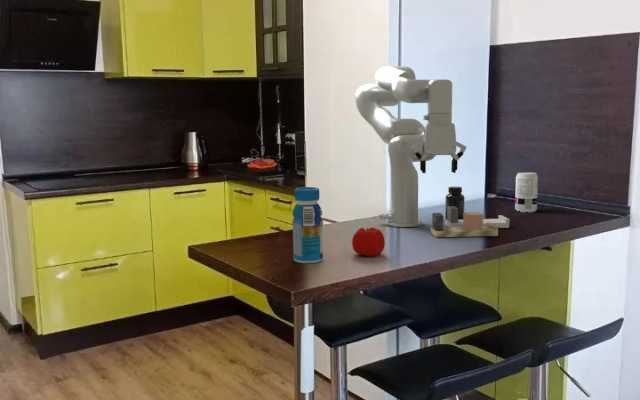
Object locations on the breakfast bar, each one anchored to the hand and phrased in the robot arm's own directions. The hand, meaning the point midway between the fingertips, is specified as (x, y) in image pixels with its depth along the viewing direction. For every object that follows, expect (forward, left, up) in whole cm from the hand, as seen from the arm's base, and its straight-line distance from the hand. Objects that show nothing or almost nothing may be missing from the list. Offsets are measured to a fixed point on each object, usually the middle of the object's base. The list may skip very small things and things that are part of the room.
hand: (438, 172), depth 202 cm
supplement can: (+44, +42, -21) cm, 64 cm away
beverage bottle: (-43, -31, -21) cm, 57 cm away
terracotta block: (+11, -1, -19) cm, 22 cm away
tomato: (-26, -26, -21) cm, 42 cm away
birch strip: (+8, -1, -20) cm, 22 cm away
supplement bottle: (+12, +27, -21) cm, 36 cm away
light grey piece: (+16, +12, -20) cm, 29 cm away
